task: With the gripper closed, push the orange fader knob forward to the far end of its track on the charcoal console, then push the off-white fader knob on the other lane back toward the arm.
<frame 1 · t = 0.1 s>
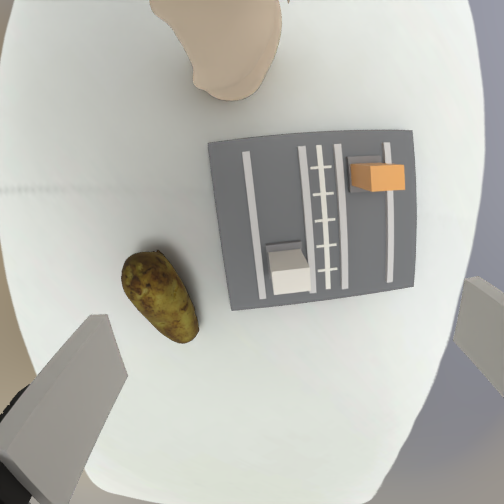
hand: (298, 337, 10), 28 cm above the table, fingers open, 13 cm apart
fader a: (374, 175, 30), point 6 cm above the table, slide at 0.0 cm
fader b: (287, 268, 33), point 6 cm above the table, slide at 9.0 cm
console: (321, 216, 37), on the table
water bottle: (235, 67, 32), on the table
potato: (168, 287, 40), on the table
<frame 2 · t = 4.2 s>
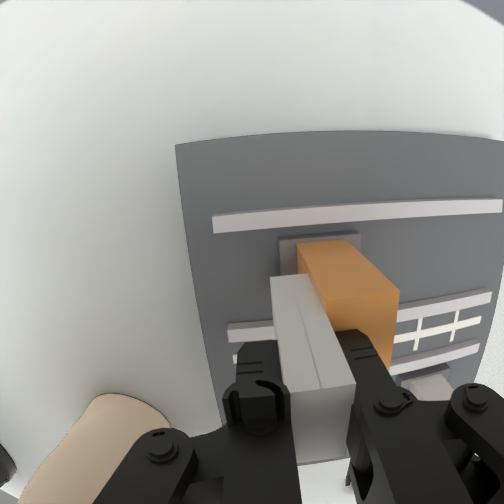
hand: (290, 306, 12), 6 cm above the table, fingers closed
fader a: (335, 299, 13), point 6 cm above the table, slide at 1.5 cm, touching gripper
fader b: (436, 420, 15), point 6 cm above the table, slide at 9.0 cm
console: (364, 326, 19), on the table
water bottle: (123, 419, 22), on the table
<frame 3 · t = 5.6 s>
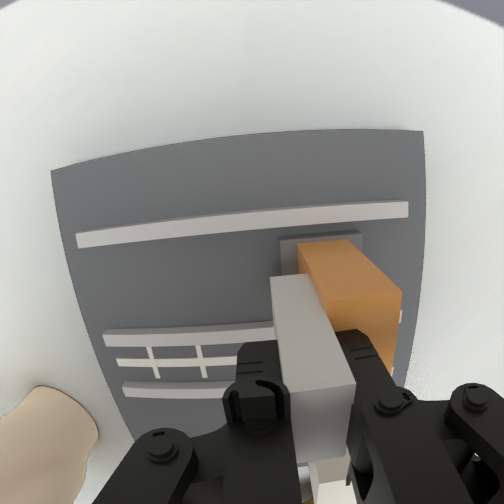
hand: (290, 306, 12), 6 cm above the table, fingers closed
fader a: (336, 300, 13), point 6 cm above the table, slide at 8.9 cm, touching gripper
fader b: (329, 449, 15), point 6 cm above the table, slide at 9.0 cm
console: (252, 339, 19), on the table
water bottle: (57, 410, 22), on the table
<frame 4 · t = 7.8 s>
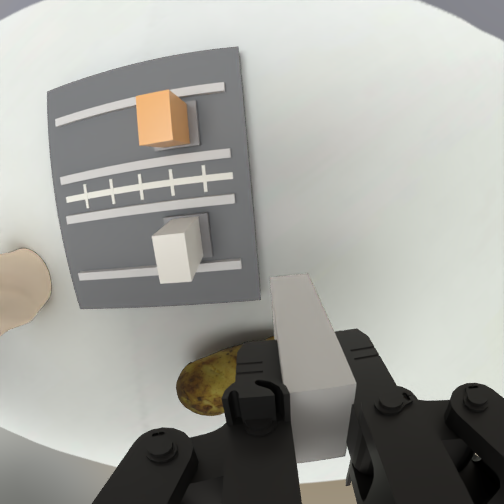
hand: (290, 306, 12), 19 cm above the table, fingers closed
fader a: (166, 122, 23), point 6 cm above the table, slide at 9.0 cm
fader b: (181, 245, 25), point 6 cm above the table, slide at 9.0 cm
console: (147, 184, 29), on the table
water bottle: (26, 272, 32), on the table
potato: (240, 354, 35), on the table
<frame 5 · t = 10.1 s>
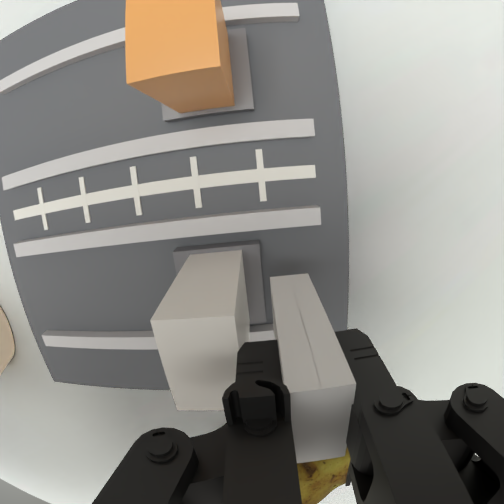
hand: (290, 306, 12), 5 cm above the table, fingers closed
fader a: (192, 52, 9), point 6 cm above the table, slide at 9.0 cm
fader b: (214, 315, 12), point 6 cm above the table, slide at 8.6 cm, touching gripper
console: (149, 186, 16), on the table
potato: (295, 435, 22), on the table
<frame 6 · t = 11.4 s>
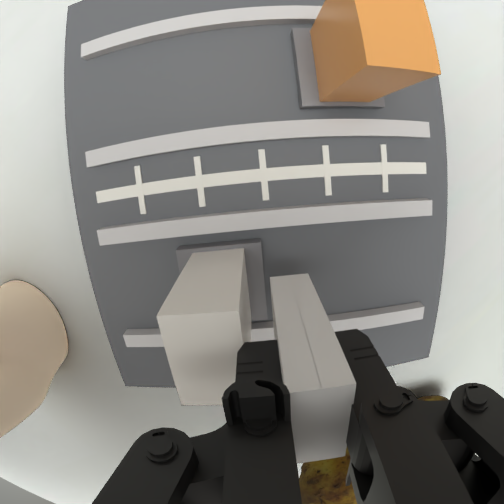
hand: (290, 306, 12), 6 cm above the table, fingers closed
fader a: (358, 47, 10), point 6 cm above the table, slide at 9.0 cm
fader b: (217, 312, 13), point 6 cm above the table, slide at 2.6 cm, touching gripper
console: (262, 172, 16), on the table
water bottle: (25, 318, 19), on the table
potato: (367, 421, 22), on the table
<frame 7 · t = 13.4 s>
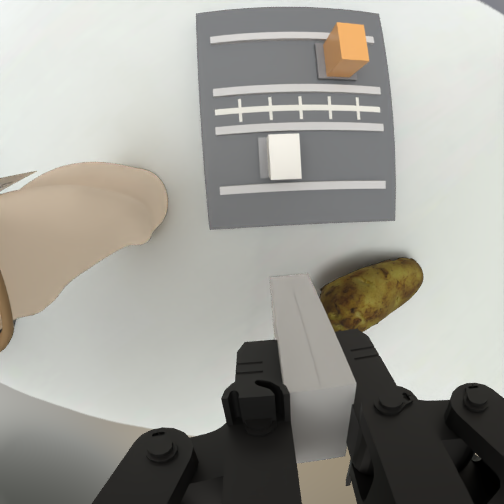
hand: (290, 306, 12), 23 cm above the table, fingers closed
fader a: (343, 53, 24), point 6 cm above the table, slide at 9.0 cm
fader b: (281, 156, 27), point 6 cm above the table, slide at 2.6 cm
console: (298, 110, 31), on the table
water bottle: (133, 197, 34), on the table
potato: (363, 281, 37), on the table
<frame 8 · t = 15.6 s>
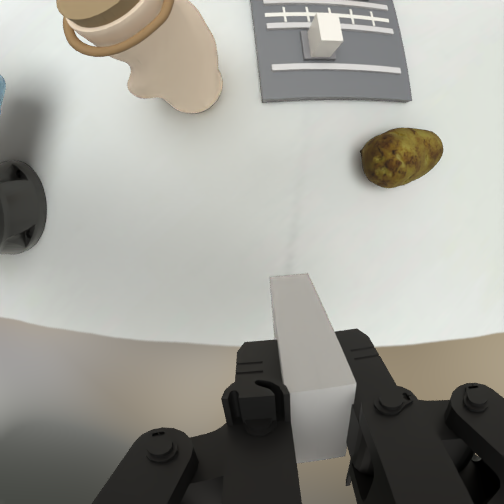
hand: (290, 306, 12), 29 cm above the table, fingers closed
fader b: (323, 37, 29), point 6 cm above the table, slide at 2.6 cm
console: (326, 20, 33), on the table
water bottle: (189, 82, 36), on the table
potato: (392, 156, 39), on the table
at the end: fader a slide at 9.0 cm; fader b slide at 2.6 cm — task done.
